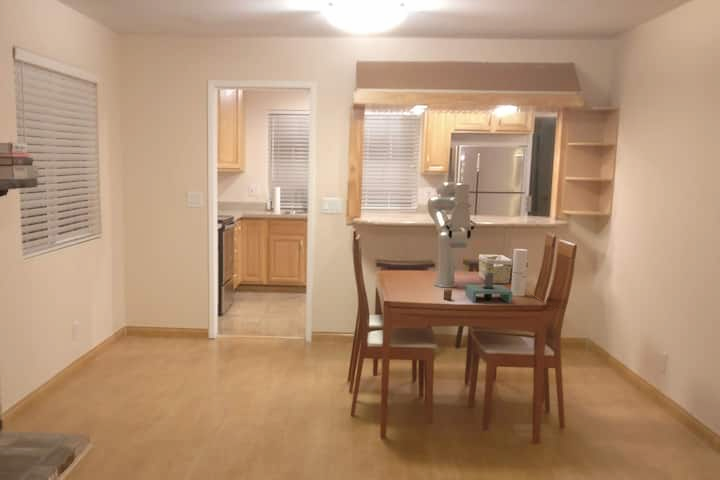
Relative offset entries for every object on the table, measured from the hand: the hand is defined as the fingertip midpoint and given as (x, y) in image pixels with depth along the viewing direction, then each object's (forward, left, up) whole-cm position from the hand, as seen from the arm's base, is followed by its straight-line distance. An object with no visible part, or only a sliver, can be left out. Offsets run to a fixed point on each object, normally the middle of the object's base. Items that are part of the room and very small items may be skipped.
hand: (459, 238), depth 302 cm
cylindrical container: (0, +34, -31) cm, 46 cm away
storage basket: (-42, +33, -31) cm, 61 cm away
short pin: (+16, -8, -30) cm, 35 cm away
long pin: (+13, +14, -30) cm, 36 cm away
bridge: (+13, +14, -30) cm, 36 cm away
